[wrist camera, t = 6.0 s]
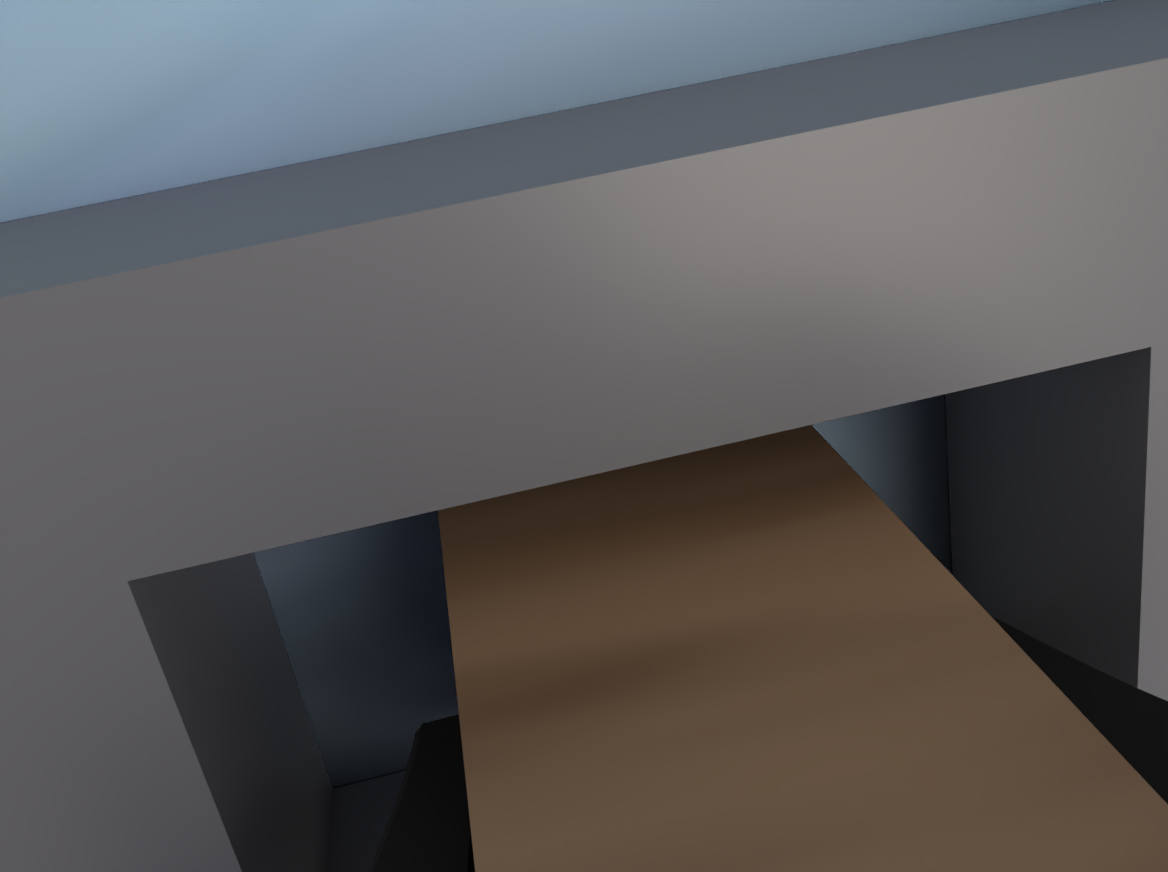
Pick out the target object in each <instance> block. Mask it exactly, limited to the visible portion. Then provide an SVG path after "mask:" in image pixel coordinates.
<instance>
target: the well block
mask: <svg viewBox="0 0 1168 872" xmlns="http://www.w3.org/2000/svg"><path fill="white" fill-rule="evenodd" d="M943 394H945V403H946V427H947V452H948V477H949V501H950V526H951V550H952V575H953V576H954V577H955V579H956V580H957V581H958V582H959V583H960V584H961V585H962V586H963V587H964V588H965V589H966V590H967V591H968V592H969V593H970V595H971V596H972V597H973V598H974V599H975V600H976V601H977V602H978V603H979V604H980V605H981V606H982V607H983V608H984V609H985V610H986V612H987V613H988V614H989V615H991V616H993V617H995V618H996V619H998V620H1000V621H1002V622H1004V623H1006V624H1008V625H1010V626H1012V627H1014V628H1016V629H1018V630H1020V631H1022V632H1024V633H1025V634H1027V635H1029V636H1031V637H1033V638H1035V639H1037V640H1039V641H1041V642H1043V643H1045V644H1047V645H1049V646H1051V647H1053V648H1055V649H1057V650H1059V651H1061V652H1063V653H1065V654H1067V655H1069V656H1071V657H1073V658H1075V659H1077V660H1079V661H1081V662H1083V663H1085V664H1087V665H1089V666H1091V667H1093V668H1095V669H1097V670H1099V671H1102V672H1104V673H1106V674H1108V675H1110V676H1112V677H1114V678H1116V679H1119V680H1121V681H1123V682H1125V683H1127V684H1129V685H1132V686H1134V687H1136V688H1138V689H1140V690H1143V691H1145V692H1147V693H1150V694H1152V695H1154V696H1157V697H1159V698H1161V699H1164V700H1166V701H1168V0H1114V1H1109V2H1104V3H1099V4H1094V5H1089V6H1084V7H1079V8H1074V9H1069V10H1064V11H1059V12H1054V13H1049V14H1044V15H1039V16H1034V17H1029V18H1024V19H1019V20H1014V21H1009V22H1004V23H999V24H994V25H989V26H984V27H979V28H974V29H969V30H964V31H959V32H954V33H949V34H944V35H939V36H934V37H929V38H924V39H919V40H914V41H909V42H904V43H899V44H894V45H889V46H883V47H878V48H873V49H868V50H863V51H858V52H853V53H848V54H843V55H838V56H833V57H828V58H823V59H818V60H813V61H808V62H803V63H798V64H793V65H788V66H783V67H778V68H773V69H768V70H763V71H758V72H753V73H748V74H743V75H738V76H733V77H728V78H723V79H718V80H713V81H708V82H703V83H698V84H693V85H688V86H683V87H678V88H673V89H668V90H663V91H658V92H653V93H648V94H643V95H638V96H633V97H628V98H623V99H618V100H613V101H608V102H603V103H598V104H593V105H588V106H583V107H578V108H573V109H568V110H563V111H558V112H553V113H548V114H543V115H538V116H533V117H528V118H523V119H518V120H513V121H508V122H503V123H498V124H493V125H488V126H483V127H478V128H473V129H468V130H463V131H458V132H453V133H448V134H443V135H438V136H433V137H428V138H423V139H418V140H413V141H408V142H403V143H398V144H393V145H388V146H383V147H378V148H373V149H368V150H363V151H358V152H353V153H348V154H343V155H338V156H333V157H328V158H323V159H318V160H313V161H308V162H303V163H298V164H293V165H288V166H283V167H278V168H273V169H268V170H263V171H258V172H253V173H248V174H243V175H238V176H233V177H228V178H223V179H218V180H213V181H208V182H203V183H198V184H193V185H188V186H183V187H178V188H173V189H168V190H163V191H158V192H153V193H148V194H143V195H137V196H132V197H127V198H122V199H117V200H112V201H107V202H102V203H97V204H92V205H87V206H82V207H77V208H72V209H67V210H62V211H57V212H52V213H47V214H42V215H37V216H32V217H27V218H22V219H17V220H12V221H7V222H2V223H0V872H368V871H369V868H370V866H371V864H372V861H373V859H374V856H375V854H376V851H377V849H378V846H379V844H380V841H381V838H382V836H383V833H384V831H385V828H386V826H387V823H388V821H389V818H390V816H391V813H392V810H393V807H394V804H395V802H396V799H397V796H398V793H399V790H400V787H401V784H402V781H403V778H404V775H405V771H403V772H399V773H395V774H391V775H387V776H383V777H379V778H375V779H371V780H367V781H363V782H359V783H355V784H351V785H347V786H343V787H339V788H335V789H332V786H331V783H330V780H329V777H328V774H327V771H326V768H325V765H324V762H323V759H322V756H321V753H320V750H319V747H318V744H317V741H316V738H315V735H314V732H313V729H312V726H311V723H310V720H309V717H308V715H307V712H306V709H305V706H304V703H303V700H302V697H301V694H300V691H299V688H298V685H297V682H296V679H295V676H294V673H293V670H292V667H291V664H290V661H289V658H288V655H287V652H286V649H285V646H284V643H283V640H282V637H281V634H280V631H279V628H278V625H277V622H276V620H275V617H274V614H273V611H272V608H271V605H270V602H269V599H268V596H267V593H266V590H265V587H264V584H263V581H262V578H261V575H260V572H259V569H258V566H257V563H256V560H255V557H254V554H253V553H254V552H258V551H262V550H267V549H271V548H275V547H280V546H284V545H289V544H293V543H297V542H302V541H306V540H310V539H315V538H319V537H323V536H328V535H332V534H337V533H341V532H345V531H350V530H354V529H358V528H363V527H367V526H371V525H376V524H380V523H385V522H389V521H393V520H398V519H402V518H406V517H411V516H415V515H420V514H424V513H428V512H433V511H437V510H441V509H446V508H450V507H454V506H459V505H463V504H468V503H472V502H476V501H481V500H485V499H489V498H494V497H498V496H502V495H507V494H511V493H516V492H520V491H524V490H529V489H533V488H537V487H542V486H546V485H550V484H555V483H559V482H564V481H568V480H572V479H577V478H581V477H585V476H590V475H594V474H598V473H603V472H607V471H612V470H616V469H620V468H625V467H629V466H633V465H638V464H642V463H646V462H651V461H655V460H660V459H664V458H668V457H673V456H677V455H681V454H686V453H690V452H694V451H699V450H703V449H708V448H712V447H716V446H721V445H725V444H729V443H734V442H738V441H743V440H747V439H751V438H756V437H760V436H764V435H769V434H773V433H777V432H782V431H786V430H791V429H795V428H799V427H804V426H808V425H812V424H817V423H821V422H825V421H830V420H834V419H839V418H843V417H847V416H852V415H856V414H860V413H865V412H869V411H873V410H878V409H882V408H887V407H891V406H895V405H900V404H904V403H908V402H913V401H917V400H921V399H926V398H930V397H935V396H939V395H943Z"/></svg>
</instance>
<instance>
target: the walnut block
mask: <svg viewBox="0 0 1168 872" xmlns="http://www.w3.org/2000/svg"><path fill="white" fill-rule="evenodd" d="M438 517H439V526H440V536H441V546H442V555H443V565H444V575H445V584H446V594H447V604H448V613H449V623H450V633H451V643H452V652H453V662H454V672H455V681H456V691H457V701H458V710H459V720H460V730H461V739H462V749H463V759H464V769H465V778H466V788H467V798H468V807H469V817H470V827H471V836H472V846H473V856H474V865H475V872H1168V804H1167V803H1166V802H1165V801H1164V800H1163V799H1162V798H1161V797H1160V796H1159V795H1158V794H1157V793H1156V791H1155V790H1154V789H1153V788H1152V787H1151V786H1150V785H1149V784H1148V783H1147V782H1146V781H1145V780H1144V779H1143V778H1142V777H1141V775H1140V774H1139V773H1138V772H1137V771H1136V770H1135V769H1134V768H1133V767H1132V766H1131V765H1130V764H1129V763H1128V762H1127V761H1126V760H1125V758H1124V757H1123V756H1122V755H1121V754H1120V753H1119V752H1118V751H1117V750H1116V749H1115V748H1114V747H1113V746H1112V745H1111V744H1110V742H1109V741H1108V740H1107V739H1106V738H1105V737H1104V736H1103V735H1102V734H1101V733H1100V732H1099V731H1098V730H1097V729H1096V728H1095V727H1094V725H1093V724H1092V723H1091V722H1090V721H1089V720H1088V719H1087V718H1086V717H1085V716H1084V715H1083V714H1082V713H1081V712H1080V711H1079V709H1078V708H1077V707H1076V706H1075V705H1074V704H1073V703H1072V702H1071V701H1070V700H1069V699H1068V698H1067V697H1066V696H1065V695H1064V694H1063V692H1062V691H1061V690H1060V689H1059V688H1058V687H1057V686H1056V685H1055V684H1054V683H1053V682H1052V681H1051V680H1050V679H1049V678H1048V676H1047V675H1046V674H1045V673H1044V672H1043V671H1042V670H1041V669H1040V668H1039V667H1038V666H1037V665H1036V664H1035V663H1034V662H1033V661H1032V659H1031V658H1030V657H1029V656H1028V655H1027V654H1026V653H1025V652H1024V651H1023V650H1022V649H1021V648H1020V647H1019V646H1018V645H1017V643H1016V642H1015V641H1014V640H1013V639H1012V638H1011V637H1010V636H1009V635H1008V634H1007V633H1006V632H1005V631H1004V630H1003V629H1002V628H1001V626H1000V625H999V624H998V623H997V622H996V621H995V620H994V619H993V618H992V617H991V616H990V615H989V614H988V613H987V612H986V610H985V609H984V608H983V607H982V606H981V605H980V604H979V603H978V602H977V601H976V600H975V599H974V598H973V597H972V596H971V595H970V593H969V592H968V591H967V590H966V589H965V588H964V587H963V586H962V585H961V584H960V583H959V582H958V581H957V580H956V579H955V577H954V576H953V575H952V574H951V573H950V572H949V571H948V570H947V569H946V568H945V567H944V566H943V565H942V564H941V563H940V562H939V560H938V559H937V558H936V557H935V556H934V555H933V554H932V553H931V552H930V551H929V550H928V549H927V548H926V547H925V546H924V544H923V543H922V542H921V541H920V540H919V539H918V538H917V537H916V536H915V535H914V534H913V533H912V532H911V531H910V530H909V529H908V527H907V526H906V525H905V524H904V523H903V522H902V521H901V520H900V519H899V518H898V517H897V516H896V515H895V514H894V513H893V511H892V510H891V509H890V508H889V507H888V506H887V505H886V504H885V503H884V502H883V501H882V500H881V499H880V498H879V497H878V496H877V494H876V493H875V492H874V491H873V490H872V489H871V488H870V487H869V486H868V485H867V484H866V483H865V482H864V481H863V480H862V478H861V477H860V476H859V475H858V474H857V473H856V472H855V471H854V470H853V469H852V468H851V467H850V466H849V465H848V464H847V463H846V461H845V460H844V459H843V458H842V457H841V456H840V455H839V454H838V453H837V452H836V451H835V450H834V449H833V448H832V447H831V445H830V444H829V443H828V442H827V441H826V440H825V439H824V438H823V437H822V436H821V435H820V434H819V433H818V432H817V431H816V430H815V428H814V427H813V426H812V425H808V426H804V427H799V428H795V429H791V430H786V431H782V432H777V433H773V434H769V435H764V436H760V437H756V438H751V439H747V440H743V441H738V442H734V443H729V444H725V445H721V446H716V447H712V448H708V449H703V450H699V451H694V452H690V453H686V454H681V455H677V456H673V457H668V458H664V459H660V460H655V461H651V462H646V463H642V464H638V465H633V466H629V467H625V468H620V469H616V470H612V471H607V472H603V473H598V474H594V475H590V476H585V477H581V478H577V479H572V480H568V481H564V482H559V483H555V484H550V485H546V486H542V487H537V488H533V489H529V490H524V491H520V492H516V493H511V494H507V495H502V496H498V497H494V498H489V499H485V500H481V501H476V502H472V503H468V504H463V505H459V506H454V507H450V508H446V509H441V510H438Z"/></svg>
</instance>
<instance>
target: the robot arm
mask: <svg viewBox="0 0 1168 872" xmlns="http://www.w3.org/2000/svg"><path fill="white" fill-rule="evenodd" d="M990 616H991V615H990ZM991 617H992V618H993V619H994V620H995V621H996V622H997V623H998V624H999V625H1000V626H1001V628H1002V629H1003V630H1004V631H1005V632H1006V633H1007V634H1008V635H1009V636H1010V637H1011V638H1012V639H1013V640H1014V641H1015V642H1016V643H1017V645H1018V646H1019V647H1020V648H1021V649H1022V650H1023V651H1024V652H1025V653H1026V654H1027V655H1028V656H1029V657H1030V658H1031V659H1032V661H1033V662H1034V663H1035V664H1036V665H1037V666H1038V667H1039V668H1040V669H1041V670H1042V671H1043V672H1044V673H1045V674H1046V675H1047V676H1048V678H1049V679H1050V680H1051V681H1052V682H1053V683H1054V684H1055V685H1056V686H1057V687H1058V688H1059V689H1060V690H1061V691H1062V692H1063V694H1064V695H1065V696H1066V697H1067V698H1068V699H1069V700H1070V701H1071V702H1072V703H1073V704H1074V705H1075V706H1076V707H1077V708H1078V709H1079V711H1080V712H1081V713H1082V714H1083V715H1084V716H1085V717H1086V718H1087V719H1088V720H1089V721H1090V722H1091V723H1092V724H1093V725H1094V727H1095V728H1096V729H1097V730H1098V731H1099V732H1100V733H1101V734H1102V735H1103V736H1104V737H1105V738H1106V739H1107V740H1108V741H1109V742H1110V744H1111V745H1112V746H1113V747H1114V748H1115V749H1116V750H1117V751H1118V752H1119V753H1120V754H1121V755H1122V756H1123V757H1124V758H1125V760H1126V761H1127V762H1128V763H1129V764H1130V765H1131V766H1132V767H1133V768H1134V769H1135V770H1136V771H1137V772H1138V773H1139V774H1140V775H1141V777H1142V778H1143V779H1144V780H1145V781H1146V782H1147V783H1148V784H1149V785H1150V786H1151V787H1152V788H1153V789H1154V790H1155V791H1156V793H1157V794H1158V795H1159V796H1160V797H1161V798H1162V799H1163V800H1164V801H1165V802H1166V803H1167V804H1168V701H1166V700H1164V699H1161V698H1159V697H1157V696H1154V695H1152V694H1150V693H1147V692H1145V691H1143V690H1140V689H1138V688H1136V687H1134V686H1132V685H1129V684H1127V683H1125V682H1123V681H1121V680H1119V679H1116V678H1114V677H1112V676H1110V675H1108V674H1106V673H1104V672H1102V671H1099V670H1097V669H1095V668H1093V667H1091V666H1089V665H1087V664H1085V663H1083V662H1081V661H1079V660H1077V659H1075V658H1073V657H1071V656H1069V655H1067V654H1065V653H1063V652H1061V651H1059V650H1057V649H1055V648H1053V647H1051V646H1049V645H1047V644H1045V643H1043V642H1041V641H1039V640H1037V639H1035V638H1033V637H1031V636H1029V635H1027V634H1025V633H1024V632H1022V631H1020V630H1018V629H1016V628H1014V627H1012V626H1010V625H1008V624H1006V623H1004V622H1002V621H1000V620H998V619H996V618H995V617H993V616H991ZM368 872H475V865H474V856H473V846H472V836H471V827H470V817H469V807H468V798H467V788H466V778H465V769H464V759H463V749H462V739H461V730H460V720H459V714H458V715H454V716H450V717H446V718H442V719H438V720H434V721H430V722H426V723H423V724H422V725H421V727H420V728H419V729H418V731H417V732H416V734H415V738H414V742H413V747H412V750H411V754H410V758H409V761H408V765H407V768H406V771H405V775H404V778H403V781H402V784H401V787H400V790H399V793H398V796H397V799H396V802H395V804H394V807H393V810H392V813H391V816H390V818H389V821H388V823H387V826H386V828H385V831H384V833H383V836H382V838H381V841H380V844H379V846H378V849H377V851H376V854H375V856H374V859H373V861H372V864H371V866H370V868H369V871H368Z"/></svg>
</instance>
